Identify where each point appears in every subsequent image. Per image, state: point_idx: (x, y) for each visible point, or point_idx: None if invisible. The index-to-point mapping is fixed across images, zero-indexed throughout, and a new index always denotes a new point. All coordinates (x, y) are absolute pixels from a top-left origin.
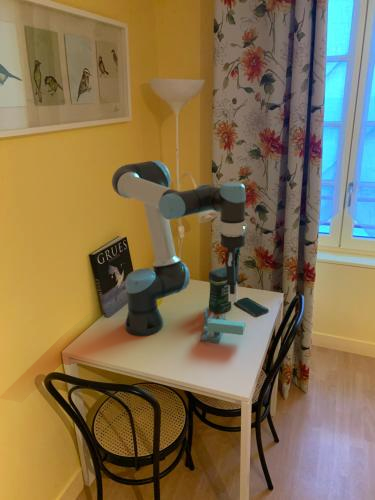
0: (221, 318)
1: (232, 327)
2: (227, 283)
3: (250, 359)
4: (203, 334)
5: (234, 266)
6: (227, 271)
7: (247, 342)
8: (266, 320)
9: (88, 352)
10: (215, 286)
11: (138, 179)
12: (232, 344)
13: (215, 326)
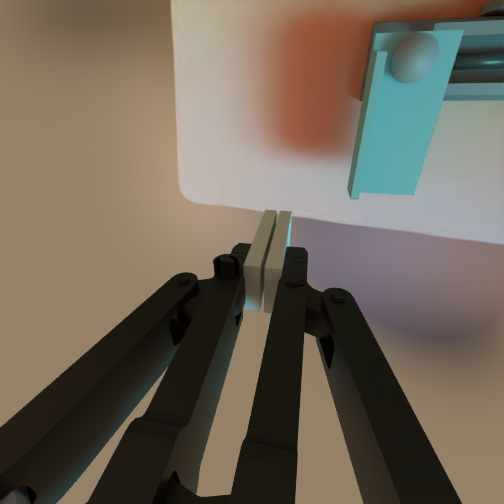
0: (501, 85)
1: (355, 161)
2: (168, 283)
3: (294, 198)
4: (410, 24)
5: (71, 477)
6: (65, 380)
7: None
8: (496, 230)
9: None
10: None
11: None
12: None
13: (367, 92)
